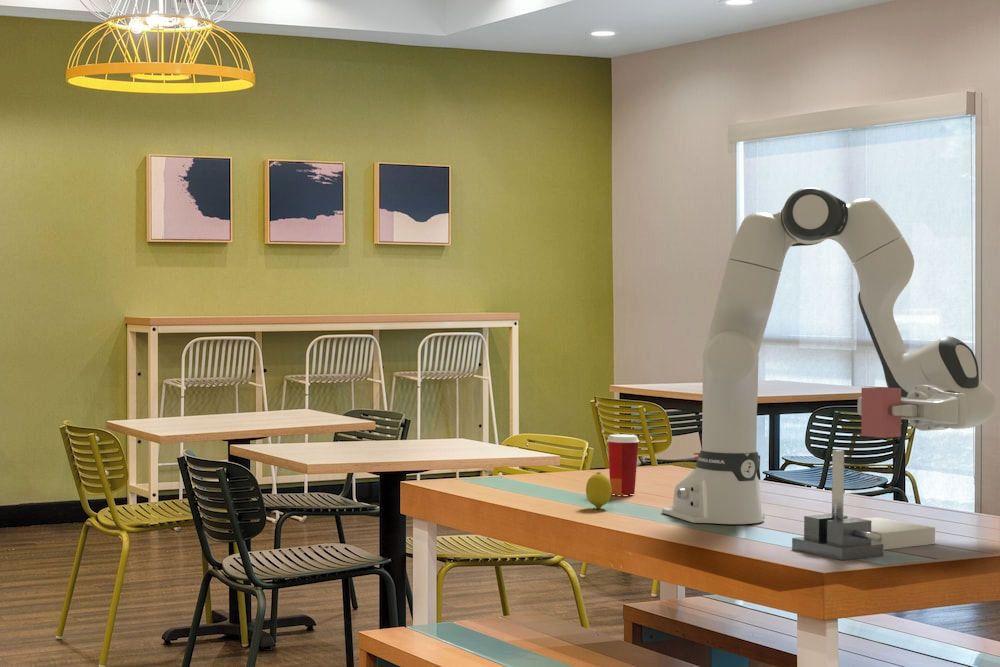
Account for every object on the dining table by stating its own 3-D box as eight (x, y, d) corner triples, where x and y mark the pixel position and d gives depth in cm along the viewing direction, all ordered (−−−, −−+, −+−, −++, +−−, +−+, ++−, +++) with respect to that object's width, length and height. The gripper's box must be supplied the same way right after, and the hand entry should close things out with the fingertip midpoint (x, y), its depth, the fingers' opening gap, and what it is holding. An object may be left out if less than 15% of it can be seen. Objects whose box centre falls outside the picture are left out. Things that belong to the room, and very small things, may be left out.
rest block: (824, 537, 233) (824, 522, 233) (876, 532, 240) (876, 517, 240) (881, 549, 221) (881, 533, 221) (934, 543, 228) (935, 527, 228)
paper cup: (639, 493, 293) (640, 434, 293) (637, 497, 286) (638, 437, 286) (607, 492, 295) (607, 433, 295) (604, 496, 287) (604, 436, 287)
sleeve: (861, 435, 231) (861, 387, 231) (880, 434, 234) (880, 387, 234) (882, 437, 227) (882, 388, 227) (900, 436, 229) (901, 388, 229)
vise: (792, 549, 220) (793, 448, 220) (832, 544, 226) (833, 446, 225) (858, 563, 207) (859, 457, 207) (899, 558, 212) (900, 454, 212)
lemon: (601, 511, 263) (601, 474, 263) (580, 508, 267) (581, 471, 267) (616, 508, 267) (616, 472, 267) (596, 506, 271) (596, 469, 271)
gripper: (886, 388, 246) (836, 390, 239) (972, 393, 228) (921, 395, 221) (886, 420, 246) (836, 422, 239) (972, 427, 228) (920, 430, 221)
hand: (877, 409), depth 230 cm, fingers closed on sleeve, 5 cm apart
